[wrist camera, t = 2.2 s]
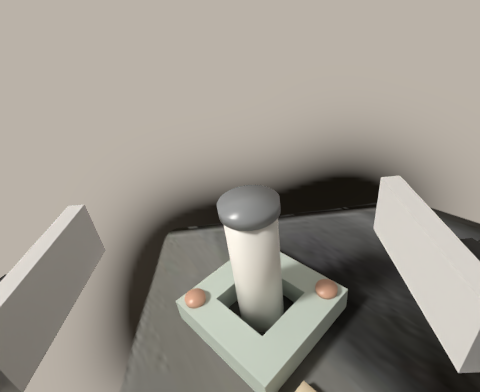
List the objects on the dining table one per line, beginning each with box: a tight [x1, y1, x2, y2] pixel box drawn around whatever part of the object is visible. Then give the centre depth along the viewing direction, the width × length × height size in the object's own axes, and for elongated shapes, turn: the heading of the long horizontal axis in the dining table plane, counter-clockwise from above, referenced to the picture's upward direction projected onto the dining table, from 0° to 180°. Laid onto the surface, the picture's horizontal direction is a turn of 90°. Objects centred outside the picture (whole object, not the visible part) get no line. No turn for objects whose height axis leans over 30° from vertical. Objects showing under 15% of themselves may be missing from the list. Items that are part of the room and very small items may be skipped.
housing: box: [176, 252, 348, 392], centre depth 35 cm, size 14×14×4 cm
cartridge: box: [217, 185, 284, 332], centre depth 32 cm, size 6×6×16 cm
